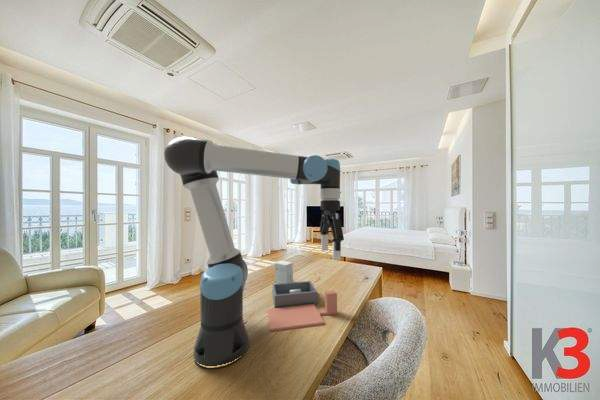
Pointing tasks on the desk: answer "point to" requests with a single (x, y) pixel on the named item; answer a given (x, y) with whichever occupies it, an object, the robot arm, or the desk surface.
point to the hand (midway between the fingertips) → (330, 254)
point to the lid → (301, 314)
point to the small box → (283, 272)
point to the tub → (294, 294)
